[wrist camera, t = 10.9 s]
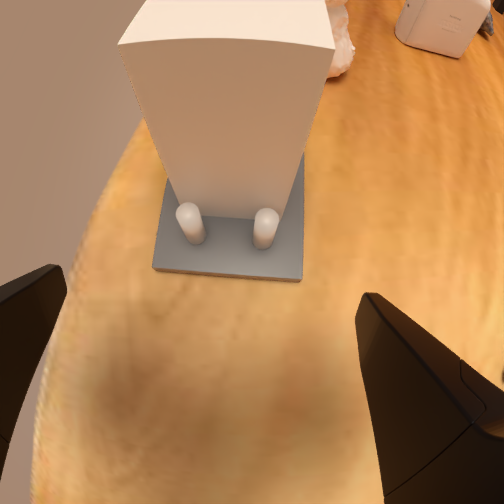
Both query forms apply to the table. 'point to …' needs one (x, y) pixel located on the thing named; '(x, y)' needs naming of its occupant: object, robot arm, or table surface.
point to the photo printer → (441, 24)
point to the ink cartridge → (499, 6)
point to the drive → (229, 95)
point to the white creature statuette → (339, 37)
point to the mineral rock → (487, 24)
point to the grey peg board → (232, 240)
